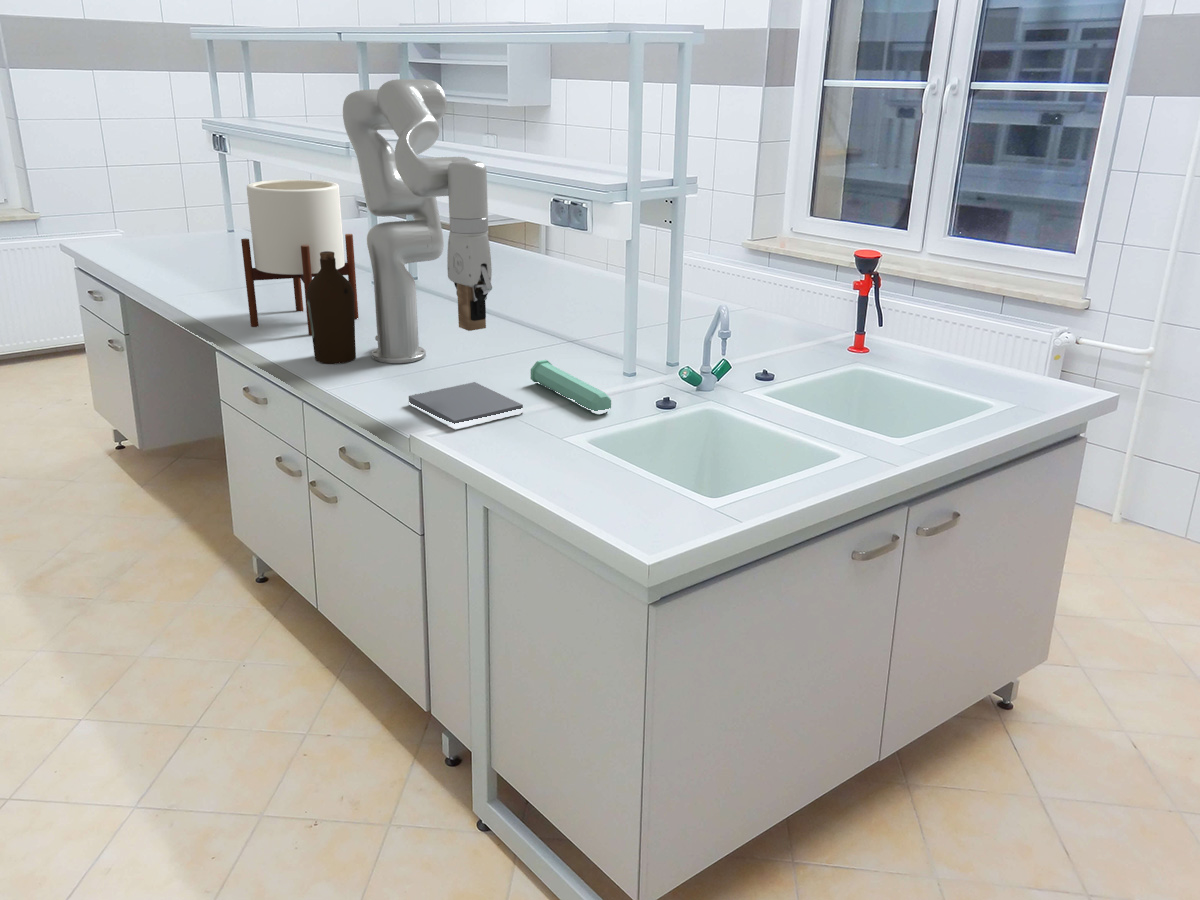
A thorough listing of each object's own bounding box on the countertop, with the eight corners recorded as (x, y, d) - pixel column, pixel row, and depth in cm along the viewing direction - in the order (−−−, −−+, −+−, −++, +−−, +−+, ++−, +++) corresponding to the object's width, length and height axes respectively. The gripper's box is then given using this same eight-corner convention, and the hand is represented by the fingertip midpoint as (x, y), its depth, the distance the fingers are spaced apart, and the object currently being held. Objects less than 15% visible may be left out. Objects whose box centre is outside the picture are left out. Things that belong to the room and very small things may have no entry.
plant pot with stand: (365, 317, 266) (356, 182, 253) (314, 337, 247) (301, 192, 233) (298, 308, 274) (285, 177, 260) (243, 327, 254) (226, 186, 241)
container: (612, 387, 197) (547, 354, 216) (589, 402, 195) (526, 367, 214) (620, 410, 200) (555, 376, 219) (597, 425, 198) (534, 389, 217)
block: (458, 327, 200) (456, 278, 196) (475, 324, 202) (473, 276, 198) (469, 330, 197) (467, 281, 193) (485, 328, 199) (484, 279, 195)
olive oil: (363, 352, 235) (356, 248, 226) (352, 365, 226) (344, 257, 216) (319, 351, 235) (310, 247, 226) (306, 364, 226) (296, 256, 216)
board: (409, 405, 202) (408, 395, 201) (474, 390, 211) (474, 382, 210) (454, 430, 189) (454, 420, 188) (522, 414, 198) (522, 404, 198)
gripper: (431, 222, 196) (435, 312, 202) (475, 233, 184) (478, 328, 190) (463, 219, 200) (466, 307, 207) (508, 229, 188) (510, 322, 195)
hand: (472, 316), depth 198 cm, fingers closed on block, 4 cm apart
